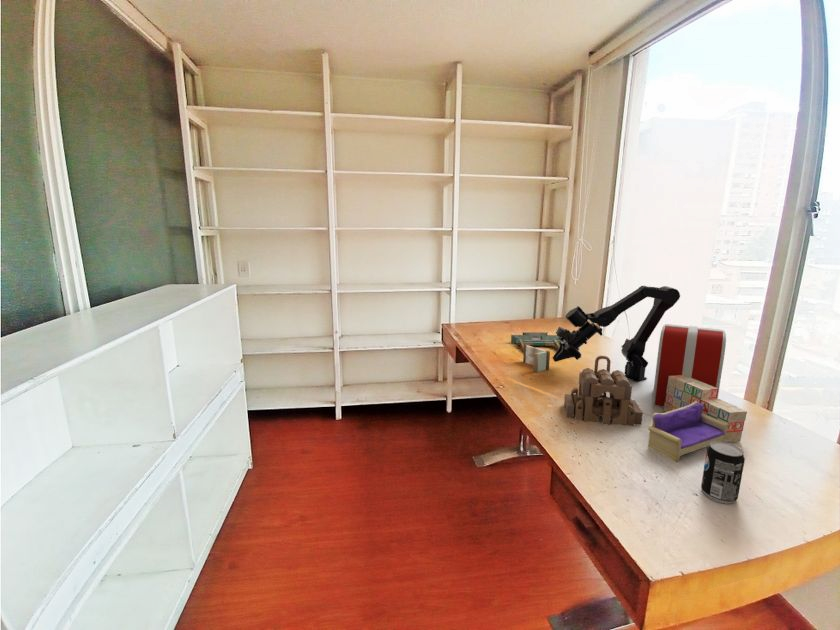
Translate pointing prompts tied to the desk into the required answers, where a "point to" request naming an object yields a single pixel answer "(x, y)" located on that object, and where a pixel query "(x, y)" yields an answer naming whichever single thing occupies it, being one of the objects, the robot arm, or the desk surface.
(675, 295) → the robot arm
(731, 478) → the beverage can
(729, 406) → the stack of blocks
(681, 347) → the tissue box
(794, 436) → the desk surface
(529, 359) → the fence section
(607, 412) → the wooden puzzle
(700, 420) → the toy sofa
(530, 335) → the miniature gate
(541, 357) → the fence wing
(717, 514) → the desk surface
